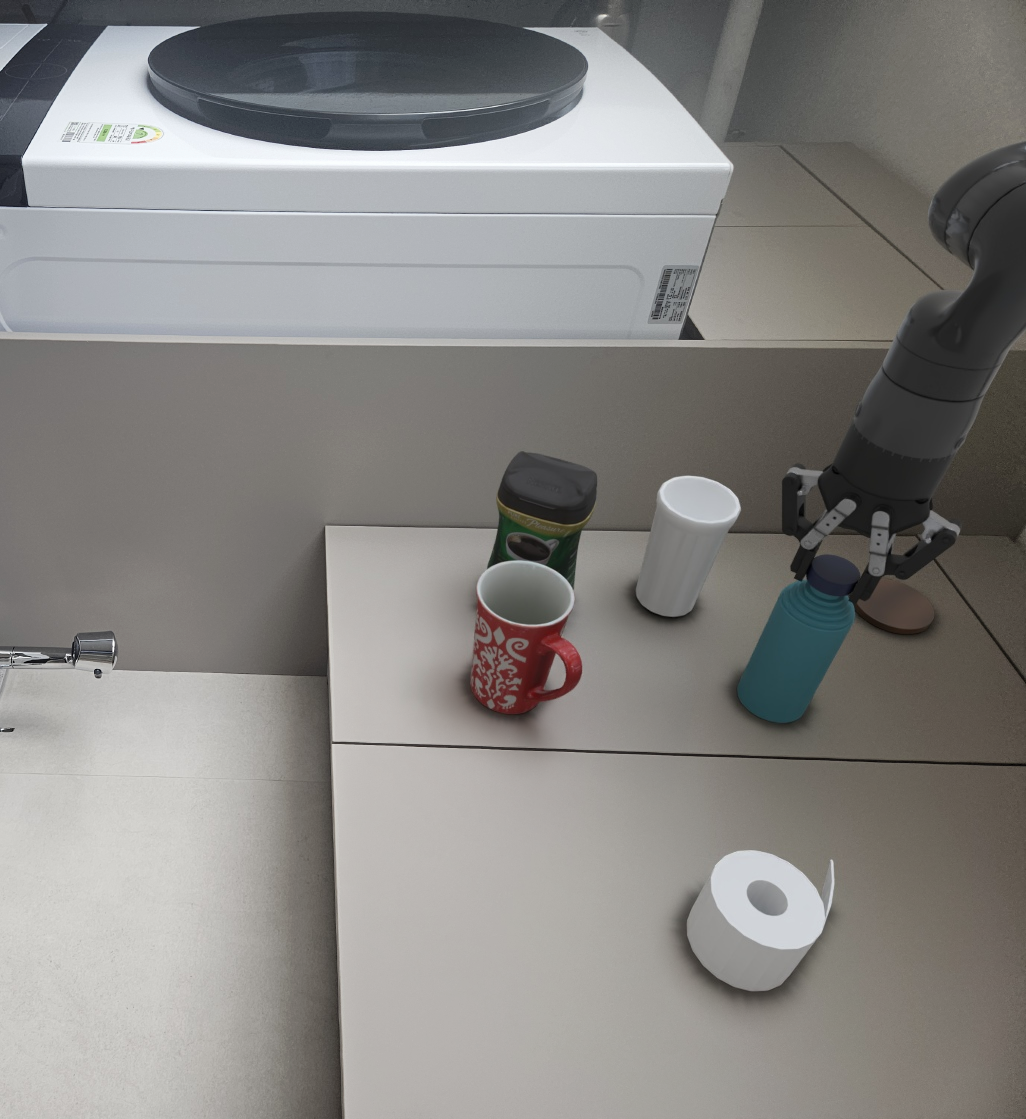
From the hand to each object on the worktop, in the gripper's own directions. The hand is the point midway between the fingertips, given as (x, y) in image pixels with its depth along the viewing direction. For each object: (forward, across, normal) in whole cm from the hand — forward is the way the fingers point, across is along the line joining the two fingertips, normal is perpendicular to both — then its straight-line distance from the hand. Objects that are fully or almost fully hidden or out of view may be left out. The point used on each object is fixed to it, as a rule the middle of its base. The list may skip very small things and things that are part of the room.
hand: (827, 585), depth 87 cm
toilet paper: (+16, -8, +26) cm, 31 cm away
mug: (+16, +20, +16) cm, 30 cm away
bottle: (+16, 0, 0) cm, 16 cm away
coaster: (+16, -6, -21) cm, 27 cm away
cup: (+16, +14, -7) cm, 22 cm away
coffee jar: (+16, +26, +3) cm, 31 cm away
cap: (-2, 0, 0) cm, 2 cm away
